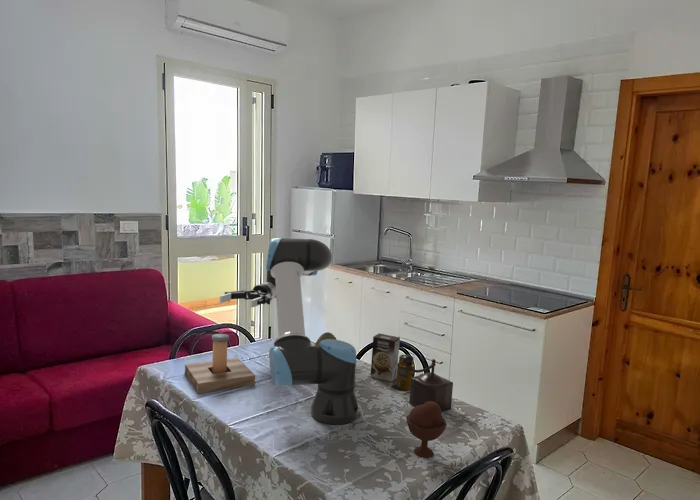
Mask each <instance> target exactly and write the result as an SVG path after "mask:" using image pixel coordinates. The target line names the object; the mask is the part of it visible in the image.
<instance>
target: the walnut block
mask: <svg viewBox="0 0 700 500" xmlns="http://www.w3.org/2000/svg"><path fill="white" fill-rule="evenodd" d="M212 365H213V360H208V361H199V362H192V363H185V364H184V373H185V375H186V377H187V379H188V381H189V382H190V383H191V384H192V386H193V388H194V389H195V391H196V392H198V393H197V394H202V393H203V394H204V393H210V392H211V393H212V392H216V391H222V390H223V391H224V390H227V389H233V388H234V389H236V388H241V387H247V386H255V384H256V374H255V373H254V372H253V371H252V370H251V369H250V368H248V366H247V365H246V364H245V363H244V362H243V361H242V360H241V359H240V358H238V357H232V358H231V357H230V358H227V371H226V372H224V373H217V374H212Z"/></svg>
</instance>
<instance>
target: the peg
mask: <svg viewBox="0 0 700 500" xmlns="http://www.w3.org/2000/svg"><path fill="white" fill-rule="evenodd" d="M229 339H230V335H229V334H227V333H215V334H212V335H211V340H212V361H213V365H212V374H217V373H224V372H226V371H227V359H228V341H229Z"/></svg>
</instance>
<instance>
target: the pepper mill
mask: <svg viewBox="0 0 700 500" xmlns="http://www.w3.org/2000/svg"><path fill="white" fill-rule="evenodd" d="M404 355H405V356H403V358H402V362H403V363H404V364H405V367H404V368H405V369H406V370H410V371H412V372H414V373H417V374H419V373H420V374H419V375H415V376H413V377H411V386H410V392H409V399H408V404H410V405H411V406H413V408H414V407H416V406H418V405H421V404H422V405H423V404H424V403H425V402H429V401H432V402H436V403H437V404H438V405H439V406H440V408H441V411H442V413H443V412H446V411H447V410H448V411H449V410H450V409H452V400H453V398H452V397H453V391H454V390H453V389H454V382H453V381H451V380H450V379H447V378H445V377H442V376H440V375H438V374H437V373H435V366H436V359H434V358H432V359H431V364H430V365H428V366H427V367H425V368H424V367H423V368H421V369H415V368H414V369H412V368H413V366H412V362H413V363H414V360H413V358H414V356H412V355H410V354H404ZM429 370H431V371H430V372H427V371H429Z"/></svg>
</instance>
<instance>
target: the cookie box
mask: <svg viewBox="0 0 700 500" xmlns="http://www.w3.org/2000/svg"><path fill="white" fill-rule="evenodd" d="M400 342H401V337H399V336H393V335H389V334H384V333H377V334H375V335H374V336H372V347H371V349H372V351H371V364H370V378H374V379H379V380H384V381H386V382H393V381H395V379H397V367H398V363H399V356H400V355H399V352H400V351H399V350H400Z"/></svg>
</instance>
